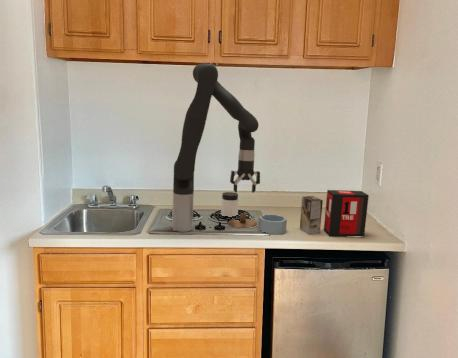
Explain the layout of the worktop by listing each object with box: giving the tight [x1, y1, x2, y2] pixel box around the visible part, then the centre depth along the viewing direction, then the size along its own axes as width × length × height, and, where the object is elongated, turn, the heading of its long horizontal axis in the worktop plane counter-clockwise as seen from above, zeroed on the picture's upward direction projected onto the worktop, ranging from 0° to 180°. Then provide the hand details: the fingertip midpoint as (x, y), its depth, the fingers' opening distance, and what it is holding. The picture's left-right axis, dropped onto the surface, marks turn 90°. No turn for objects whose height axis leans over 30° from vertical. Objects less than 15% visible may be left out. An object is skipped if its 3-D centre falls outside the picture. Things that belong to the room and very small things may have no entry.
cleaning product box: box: [323, 189, 370, 238], centre depth 200 cm, size 16×9×20 cm, turn 94°
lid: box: [227, 212, 258, 229], centre depth 209 cm, size 14×14×6 cm
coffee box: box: [299, 195, 324, 235], centre depth 202 cm, size 9×6×16 cm
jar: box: [220, 191, 240, 217], centre depth 221 cm, size 9×8×12 cm
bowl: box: [258, 213, 288, 235], centre depth 201 cm, size 12×12×6 cm
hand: (244, 192), depth 206 cm, fingers open, 8 cm apart
